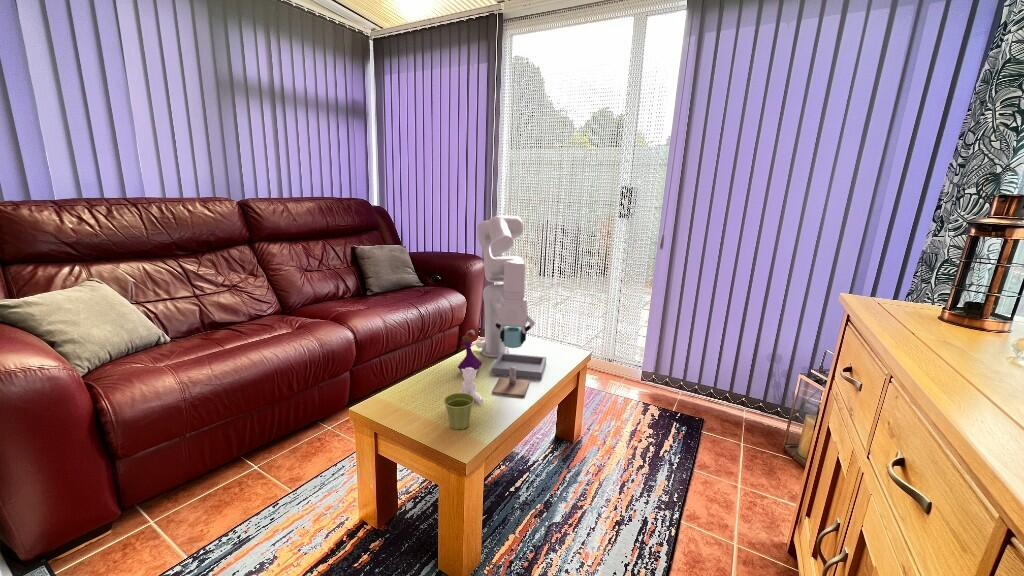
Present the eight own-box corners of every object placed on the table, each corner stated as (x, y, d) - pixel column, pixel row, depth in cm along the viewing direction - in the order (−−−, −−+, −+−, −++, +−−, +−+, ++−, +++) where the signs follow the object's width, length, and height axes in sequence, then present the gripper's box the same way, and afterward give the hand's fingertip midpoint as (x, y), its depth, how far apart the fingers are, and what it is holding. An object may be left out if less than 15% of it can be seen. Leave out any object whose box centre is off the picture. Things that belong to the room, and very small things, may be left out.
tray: (491, 374, 166) (491, 367, 166) (500, 359, 182) (500, 352, 181) (541, 379, 163) (541, 372, 162) (546, 363, 178) (546, 357, 177)
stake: (491, 394, 150) (491, 374, 149) (499, 379, 162) (499, 361, 160) (524, 397, 148) (524, 378, 146) (529, 383, 160) (530, 364, 158)
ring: (502, 347, 151) (502, 331, 150) (506, 339, 159) (507, 324, 157) (520, 348, 150) (520, 333, 148) (523, 340, 157) (524, 325, 156)
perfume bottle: (457, 374, 166) (456, 331, 162) (466, 367, 173) (465, 326, 169) (474, 377, 163) (473, 334, 159) (482, 370, 170) (482, 328, 166)
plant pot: (442, 433, 125) (442, 407, 124) (445, 417, 135) (445, 392, 133) (473, 433, 126) (473, 407, 124) (474, 416, 135) (474, 392, 133)
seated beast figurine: (455, 407, 141) (455, 374, 138) (454, 395, 149) (453, 364, 146) (483, 405, 143) (483, 372, 140) (480, 393, 151) (480, 362, 148)
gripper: (487, 295, 147) (487, 343, 151) (536, 299, 144) (534, 347, 148) (492, 290, 154) (492, 336, 158) (539, 293, 151) (537, 340, 155)
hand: (512, 341), depth 153 cm, fingers closed on ring, 6 cm apart
